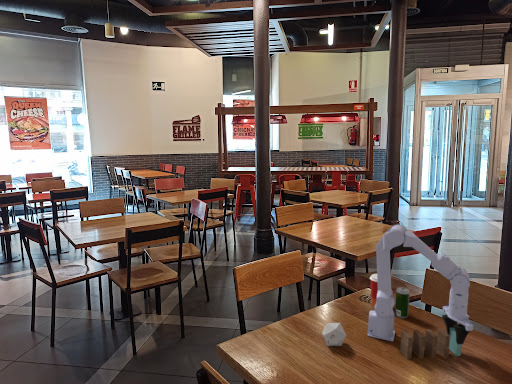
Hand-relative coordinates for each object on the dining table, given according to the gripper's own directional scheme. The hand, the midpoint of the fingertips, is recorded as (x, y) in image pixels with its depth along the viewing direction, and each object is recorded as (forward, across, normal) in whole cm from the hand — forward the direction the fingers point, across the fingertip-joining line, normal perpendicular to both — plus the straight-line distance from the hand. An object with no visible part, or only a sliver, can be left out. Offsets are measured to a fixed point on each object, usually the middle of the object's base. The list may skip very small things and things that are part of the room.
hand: (455, 339), depth 129 cm
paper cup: (+5, +39, +13) cm, 41 cm away
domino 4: (+5, 0, +4) cm, 7 cm away
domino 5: (+5, 0, 0) cm, 5 cm away
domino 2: (+5, 0, +14) cm, 14 cm away
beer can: (+5, +28, +6) cm, 30 cm away
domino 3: (+5, 0, +9) cm, 10 cm away
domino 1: (+5, 0, +18) cm, 19 cm away
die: (+5, +9, +42) cm, 43 cm away
